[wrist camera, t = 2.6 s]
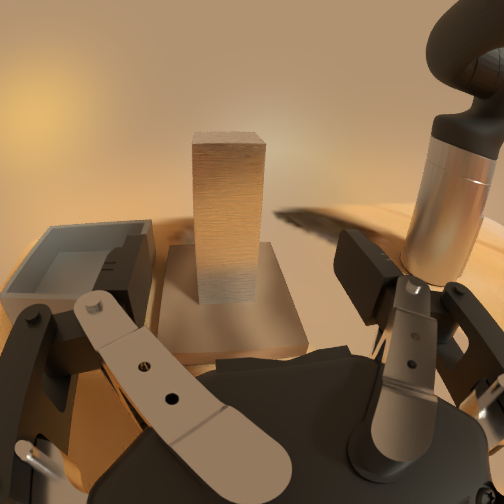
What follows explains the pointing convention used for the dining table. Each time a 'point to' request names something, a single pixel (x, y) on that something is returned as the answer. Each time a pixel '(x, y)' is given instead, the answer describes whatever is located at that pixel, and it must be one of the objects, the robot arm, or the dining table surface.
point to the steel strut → (227, 214)
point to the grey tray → (67, 264)
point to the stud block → (228, 315)
